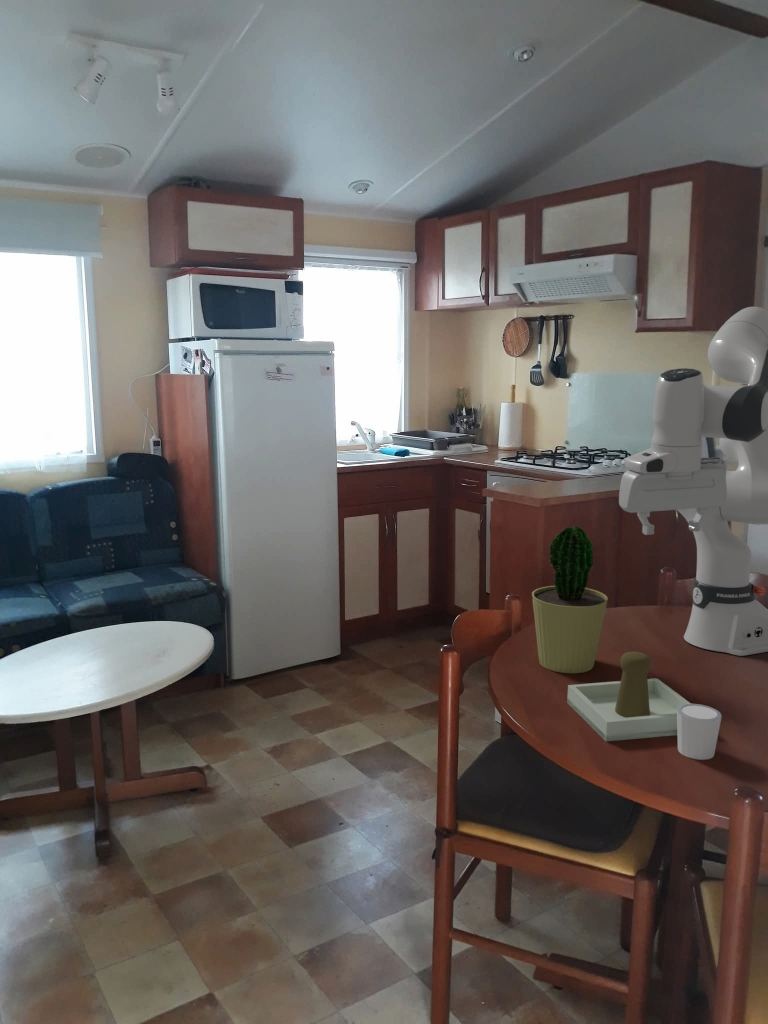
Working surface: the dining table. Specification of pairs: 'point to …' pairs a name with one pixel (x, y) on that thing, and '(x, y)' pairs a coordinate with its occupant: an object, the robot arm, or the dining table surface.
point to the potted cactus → (569, 607)
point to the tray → (600, 714)
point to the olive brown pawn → (634, 686)
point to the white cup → (697, 730)
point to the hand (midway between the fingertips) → (671, 532)
